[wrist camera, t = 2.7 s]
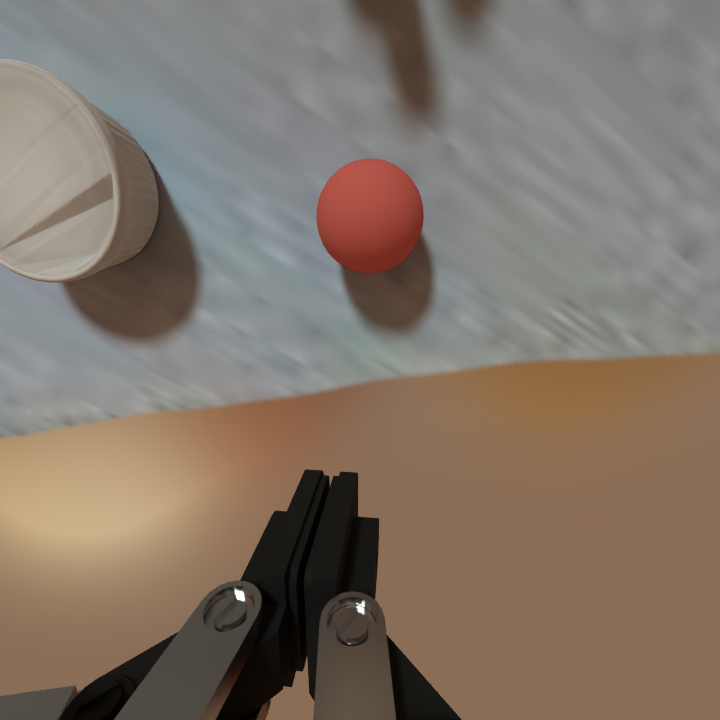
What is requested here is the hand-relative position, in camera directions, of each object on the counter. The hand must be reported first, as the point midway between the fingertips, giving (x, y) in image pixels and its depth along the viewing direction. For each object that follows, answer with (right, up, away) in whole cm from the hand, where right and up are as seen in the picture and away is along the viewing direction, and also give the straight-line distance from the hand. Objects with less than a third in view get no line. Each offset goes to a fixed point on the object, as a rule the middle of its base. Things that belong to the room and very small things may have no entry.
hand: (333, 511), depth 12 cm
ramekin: (-17, +16, +14) cm, 27 cm away
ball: (+1, +13, +9) cm, 16 cm away
